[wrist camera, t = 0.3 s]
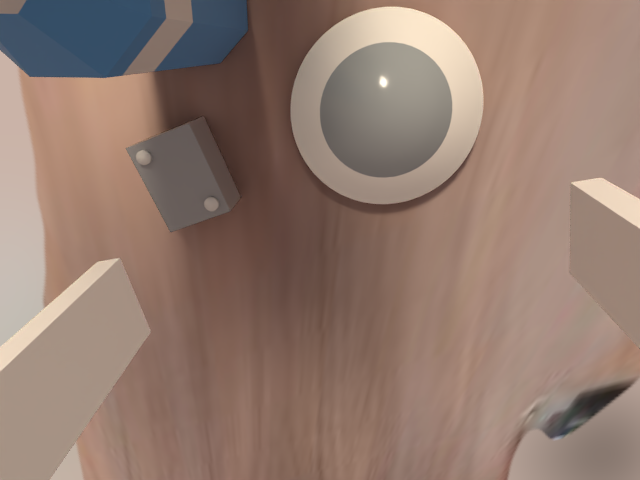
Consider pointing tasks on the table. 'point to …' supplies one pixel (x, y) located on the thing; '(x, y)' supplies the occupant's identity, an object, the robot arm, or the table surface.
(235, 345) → the table surface
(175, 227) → the box
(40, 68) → the water bottle
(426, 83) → the cream plate
